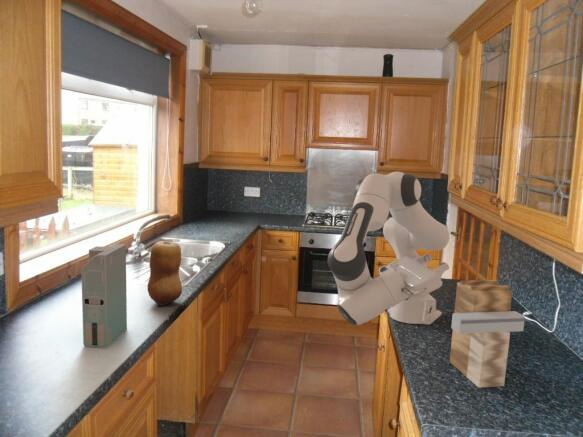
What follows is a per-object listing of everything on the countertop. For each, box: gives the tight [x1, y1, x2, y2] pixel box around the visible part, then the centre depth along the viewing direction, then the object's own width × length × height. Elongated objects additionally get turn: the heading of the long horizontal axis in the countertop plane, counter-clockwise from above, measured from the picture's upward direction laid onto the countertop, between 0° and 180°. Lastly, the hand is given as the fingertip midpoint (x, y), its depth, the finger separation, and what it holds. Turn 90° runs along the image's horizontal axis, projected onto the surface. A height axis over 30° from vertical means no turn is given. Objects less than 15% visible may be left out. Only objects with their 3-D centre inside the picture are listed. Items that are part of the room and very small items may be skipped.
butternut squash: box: [147, 240, 183, 306], centre depth 202 cm, size 14×13×25 cm
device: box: [80, 243, 128, 349], centre depth 166 cm, size 16×8×30 cm, turn 176°
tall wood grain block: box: [449, 279, 513, 389], centre depth 152 cm, size 12×16×27 cm
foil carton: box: [450, 310, 526, 334], centre depth 145 cm, size 20×4×4 cm, turn 102°
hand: (438, 260), depth 139 cm, fingers open, 8 cm apart
